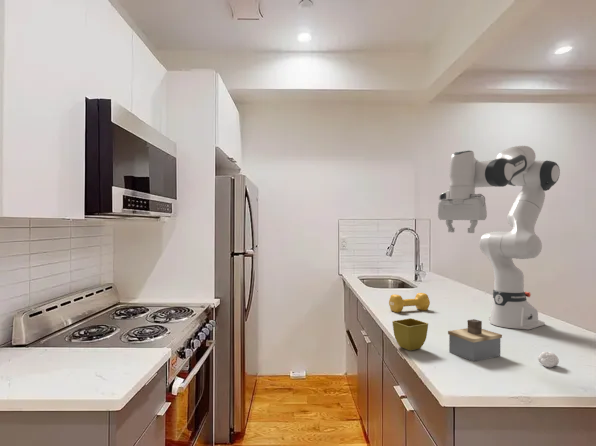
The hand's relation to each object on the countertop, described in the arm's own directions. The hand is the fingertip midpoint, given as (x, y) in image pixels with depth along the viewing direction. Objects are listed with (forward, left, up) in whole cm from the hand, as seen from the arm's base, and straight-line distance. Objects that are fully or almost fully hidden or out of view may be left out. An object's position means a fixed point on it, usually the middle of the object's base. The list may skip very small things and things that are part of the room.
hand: (460, 232), depth 154 cm
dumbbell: (-16, -47, -40) cm, 64 cm away
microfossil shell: (-3, +31, -40) cm, 50 cm away
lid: (+8, +14, -34) cm, 38 cm away
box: (+8, +14, -39) cm, 42 cm away
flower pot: (+23, 0, -40) cm, 46 cm away
